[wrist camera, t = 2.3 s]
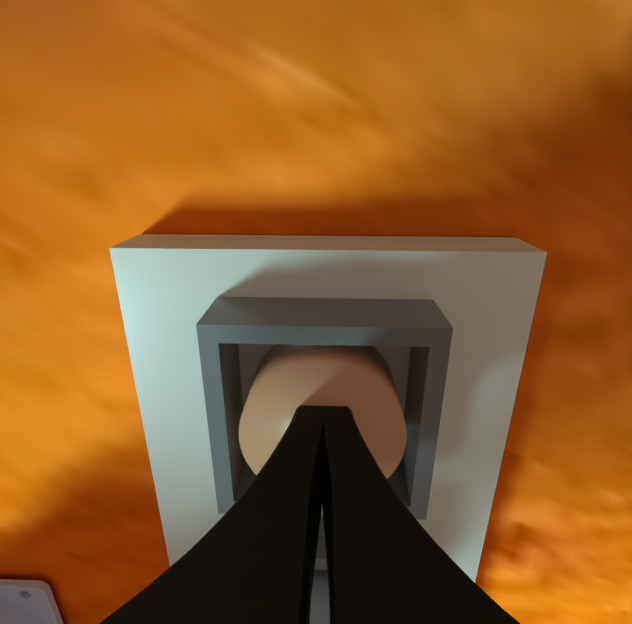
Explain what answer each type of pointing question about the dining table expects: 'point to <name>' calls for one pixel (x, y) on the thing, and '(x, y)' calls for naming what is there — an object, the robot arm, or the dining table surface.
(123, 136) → the dining table surface
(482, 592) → the robot arm
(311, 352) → the terracotta button
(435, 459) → the button console
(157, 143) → the dining table surface
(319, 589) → the dusty blue button
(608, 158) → the dining table surface
